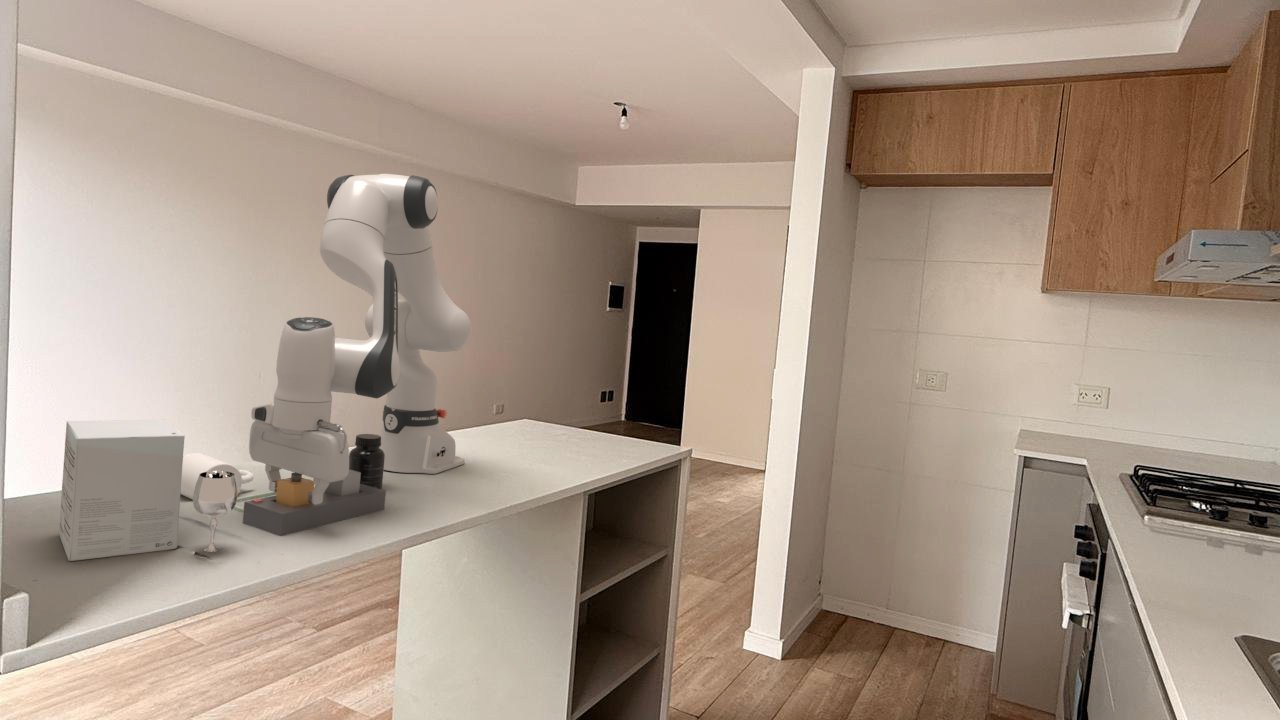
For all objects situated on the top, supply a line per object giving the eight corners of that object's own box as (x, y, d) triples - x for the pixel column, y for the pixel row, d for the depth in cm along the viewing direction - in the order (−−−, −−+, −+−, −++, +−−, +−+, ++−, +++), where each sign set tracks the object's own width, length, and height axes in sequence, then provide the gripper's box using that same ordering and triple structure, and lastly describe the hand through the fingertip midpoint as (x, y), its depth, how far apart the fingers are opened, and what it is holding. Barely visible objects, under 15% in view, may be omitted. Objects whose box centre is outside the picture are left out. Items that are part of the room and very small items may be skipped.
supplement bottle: (339, 492, 153) (344, 433, 152) (371, 488, 158) (376, 431, 157) (355, 500, 148) (360, 440, 147) (387, 497, 153) (393, 438, 152)
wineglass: (204, 544, 116) (209, 468, 116) (240, 549, 116) (246, 472, 115) (180, 557, 111) (185, 476, 110) (218, 562, 110) (224, 481, 110)
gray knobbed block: (341, 505, 139) (345, 461, 138) (357, 510, 137) (361, 466, 136) (323, 509, 135) (327, 464, 135) (339, 514, 133) (343, 469, 133)
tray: (274, 501, 142) (275, 490, 142) (308, 512, 138) (309, 501, 138) (217, 512, 132) (218, 501, 132) (253, 524, 128) (254, 513, 128)
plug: (294, 516, 130) (298, 469, 129) (311, 521, 128) (315, 474, 127) (274, 521, 126) (278, 472, 126) (290, 526, 124) (294, 477, 124)
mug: (195, 511, 131) (198, 466, 131) (167, 498, 137) (170, 454, 136) (262, 501, 141) (265, 459, 141) (233, 488, 147) (236, 448, 146)
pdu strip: (348, 506, 144) (350, 479, 143) (383, 517, 140) (386, 489, 139) (242, 531, 124) (244, 500, 124) (279, 544, 120) (282, 512, 120)
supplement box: (159, 524, 123) (167, 418, 122) (178, 549, 113) (186, 434, 112) (57, 534, 114) (64, 419, 113) (67, 562, 104) (75, 437, 103)
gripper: (362, 424, 124) (354, 507, 125) (277, 404, 133) (271, 481, 134) (330, 428, 119) (323, 514, 120) (244, 407, 128) (238, 487, 129)
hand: (295, 497), depth 127 cm, fingers open, 8 cm apart
